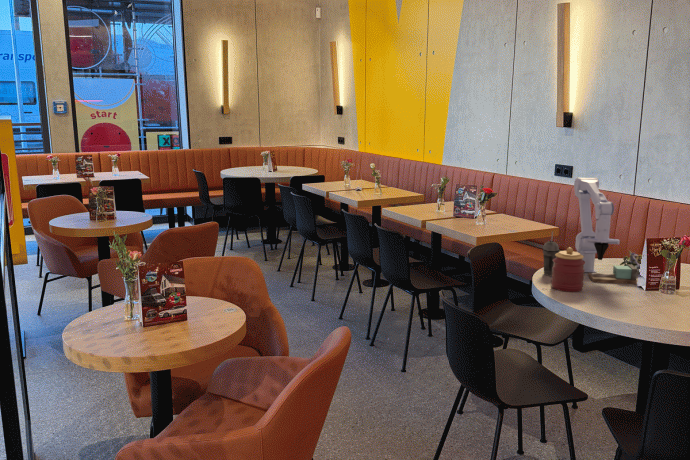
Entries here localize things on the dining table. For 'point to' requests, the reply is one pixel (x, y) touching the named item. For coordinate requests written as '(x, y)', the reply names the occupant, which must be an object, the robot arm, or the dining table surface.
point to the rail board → (612, 279)
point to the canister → (568, 271)
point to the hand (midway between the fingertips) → (599, 259)
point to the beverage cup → (549, 255)
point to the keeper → (622, 272)
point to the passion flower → (633, 260)
